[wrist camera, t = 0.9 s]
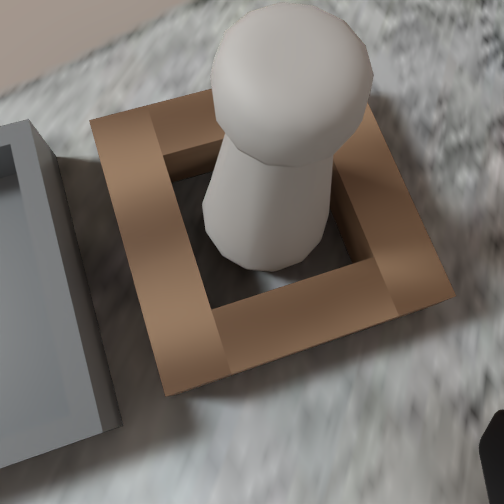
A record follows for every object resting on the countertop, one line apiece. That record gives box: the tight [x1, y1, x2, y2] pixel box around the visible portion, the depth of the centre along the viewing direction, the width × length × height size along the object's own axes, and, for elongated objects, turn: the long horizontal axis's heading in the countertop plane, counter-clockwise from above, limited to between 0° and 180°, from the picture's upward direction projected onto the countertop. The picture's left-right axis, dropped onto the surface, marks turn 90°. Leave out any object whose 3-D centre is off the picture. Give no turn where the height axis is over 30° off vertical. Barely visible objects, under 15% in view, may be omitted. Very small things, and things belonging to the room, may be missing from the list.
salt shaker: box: [202, 2, 374, 272], centre depth 18 cm, size 6×6×13 cm
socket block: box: [89, 89, 456, 397], centre depth 22 cm, size 13×13×3 cm
